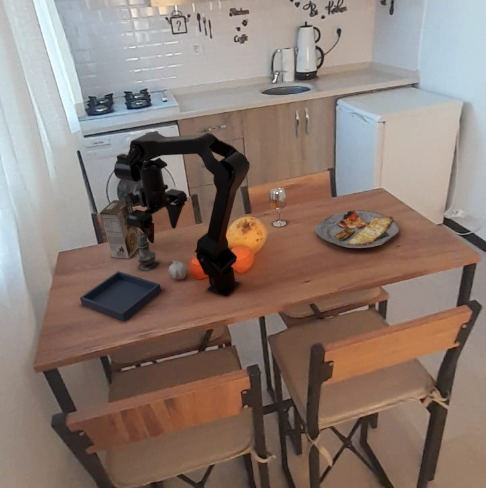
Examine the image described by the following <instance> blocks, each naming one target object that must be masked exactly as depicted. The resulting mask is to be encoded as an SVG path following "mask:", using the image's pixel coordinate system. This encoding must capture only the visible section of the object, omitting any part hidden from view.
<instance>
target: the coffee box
mask: <svg viewBox="0 0 486 488" xmlns="http://www.w3.org/2000/svg"><path fill="white" fill-rule="evenodd" d="M133 211H134V207H133V206H127V204H126V202H125V199H124V200H123V199H113V200H112V201H111V202H110V203H108V205H106V206H105V207H104V208H102V210H101V211H100V212H99V215H100V218H101V221H102V225H103V228H104V232H105V236H106V239H107V242H108V246H109V250H110V253H111V256H112V258H117V259H131V257H132V256H133V255H134V254H135V253H136V252H137V251H138V250H139V247H137V245H138V242H137V235H138V234H139V232H140V230H139V228H138V227H134V226H130V225H127V222H126V216H127V215H128V214H130V213H131V212H133Z"/></svg>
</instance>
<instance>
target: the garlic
mask: <svg viewBox="0 0 486 488" xmlns="http://www.w3.org/2000/svg"><path fill="white" fill-rule="evenodd" d="M171 262H172V263H171V265H170V266H169V267H168V275H169V276H170V277H171V279H173V280H184V279H185V277H186V276H187V275H188V271H189V269H188V265H187V264H185V263H184V262H182V261H177V260H171Z"/></svg>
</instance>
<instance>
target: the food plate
mask: <svg viewBox="0 0 486 488" xmlns="http://www.w3.org/2000/svg"><path fill="white" fill-rule="evenodd" d="M314 230H315V233H316V235H318V236H319V238H321V239H323V240H324V241H326V242H328V243H331V244H333V245H335V246H341V247H344V248H351V249H362V248H364V249H365V248H372V247H377V246H378V247H379V246H381V245H383V244H385V243H386V242H388V241H389V240H391V239H392V238H393V237H394V236H396V235H397V234H398V233H399V232H400V226H399V225H398V224H397V221H396V220H395V219H394V216H388V215H385V214H382V213H379V212H377V211H370V210H355V209H353V210H346V211H341V212H338V213H333V214H332V215H329V216H328V217H326V218H325V219H323V220H321V221H320V222H319V223H317V224H316V226H315V229H314Z"/></svg>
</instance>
